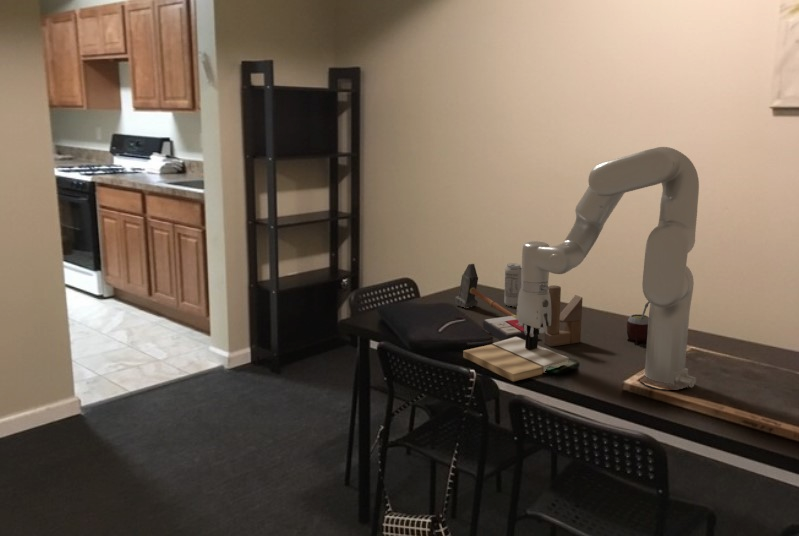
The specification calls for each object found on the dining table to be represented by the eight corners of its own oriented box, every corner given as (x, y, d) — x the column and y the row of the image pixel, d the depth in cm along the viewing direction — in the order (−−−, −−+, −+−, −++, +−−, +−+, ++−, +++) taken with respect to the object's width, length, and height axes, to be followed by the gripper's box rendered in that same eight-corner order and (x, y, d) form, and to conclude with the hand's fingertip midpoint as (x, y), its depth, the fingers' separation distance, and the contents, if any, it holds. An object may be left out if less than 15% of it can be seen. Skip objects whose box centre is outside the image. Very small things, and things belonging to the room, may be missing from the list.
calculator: (507, 333, 212) (482, 318, 225) (506, 346, 213) (482, 330, 226) (538, 328, 216) (512, 313, 229) (537, 341, 217) (511, 326, 231)
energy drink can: (524, 305, 255) (525, 264, 251) (514, 308, 250) (515, 267, 247) (510, 302, 259) (511, 262, 255) (500, 305, 254) (501, 265, 251)
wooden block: (580, 342, 213) (583, 285, 209) (550, 347, 209) (552, 288, 205) (573, 339, 216) (576, 282, 212) (543, 343, 212) (545, 285, 209)
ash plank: (568, 364, 193) (568, 357, 192) (544, 372, 188) (543, 365, 188) (516, 342, 211) (516, 336, 211) (492, 349, 207) (492, 343, 206)
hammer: (518, 297, 226) (460, 262, 249) (509, 341, 233) (454, 302, 255) (531, 295, 230) (473, 260, 252) (522, 337, 236) (466, 300, 258)
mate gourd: (628, 337, 218) (631, 290, 214) (655, 341, 214) (658, 293, 211) (623, 344, 211) (626, 295, 208) (650, 348, 208) (653, 298, 204)
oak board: (542, 373, 188) (542, 366, 188) (513, 381, 183) (513, 374, 183) (490, 350, 206) (491, 344, 206) (463, 357, 201) (463, 350, 201)
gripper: (563, 290, 192) (559, 354, 196) (527, 278, 204) (524, 338, 209) (542, 293, 188) (539, 358, 192) (506, 282, 201) (504, 343, 205)
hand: (531, 348), depth 200 cm, fingers closed
